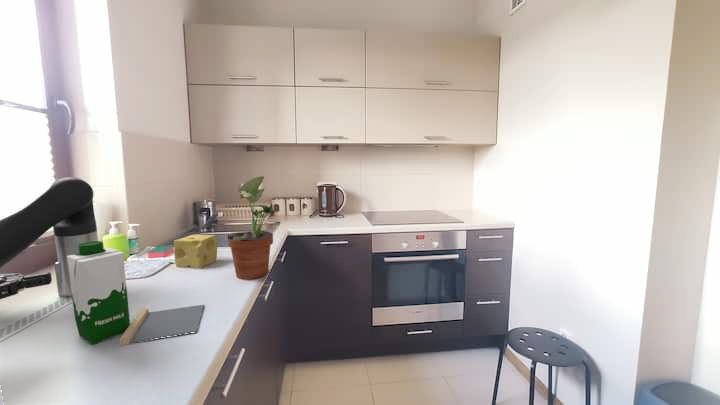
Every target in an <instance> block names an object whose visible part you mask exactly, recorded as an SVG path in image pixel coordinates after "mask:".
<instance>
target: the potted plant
mask: <svg viewBox="0 0 720 405" xmlns="http://www.w3.org/2000/svg"><path fill="white" fill-rule="evenodd" d="M264 179H265V176H256V177H254V178H252V179H249V180H248V181H246V182H245V183H244V184H243V185H241V187H240V188H239V189H238V190H239V192H246V193H241V194H240V196H239V200H242V199H246V200H247V201H248V203H249V205H250V210H251V211H250V213H251V230H250V231H243V232H242V231H241V232H240V231H239V232H238V231H237V232H232V233H230V234H229V235H228V237H227V246H228V247H229V248H230V251H231V254H232V256H231V257H232V261H233V265H234V271H235V275H236V278H237V279H239V280H242V281H249V280H252V279H257V278H260V277H263V276H265V275H267V274H268V272H269V268H270V267H269V264H270V253H271V245H273V243H274V234H273V232H270V231H265V230H261V229H262V226H263V221H265V218H266V217H267V215H268V214H270V217H273V216H274V214H275V211H274V210H273V209H271V208H270V207H269V206H268V205H264V204H263V205H261V204H259V205H258V206H259V207H261V210H257V209H254V208H255V207H254V206H255V203H257V202H258V201H259V200H260V198H261V197H262V195H263V193H264V191H265V187H261V188H259V187H260V186H261V184H262V183H263V181H264ZM260 219H261V220H260ZM258 220H260V222H258ZM257 225H258V226H257Z"/></svg>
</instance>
